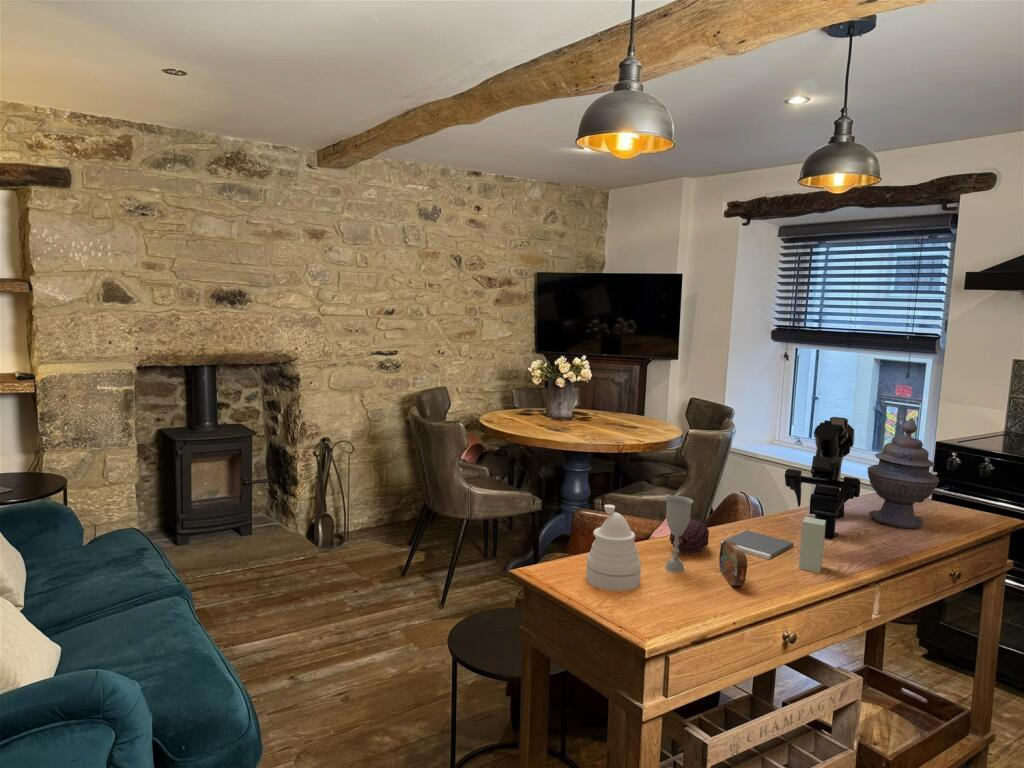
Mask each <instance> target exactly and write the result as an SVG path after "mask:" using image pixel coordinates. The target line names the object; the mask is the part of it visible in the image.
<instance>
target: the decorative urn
mask: <svg viewBox="0 0 1024 768" xmlns="http://www.w3.org/2000/svg"><path fill="white" fill-rule="evenodd" d="M901 429H902V431H904V435H897V436H894V437H892V438H891V442H888V443H885V445H883V447H882V451H881V452H878V453H875V454H874V457H875V458H876V459H878V460H879V461H878V464H873V465H870V466H868V467H867V475H868V476H867V477H868V479H869V484H870V486H871V487H872V489H873V490H874V492H875V493H876V494H877V496H878V497H879V498H880V499H883V500H884V501H883V504H882V506H881V508H880V509H878V510H871V511H868V515H869V516H870V517H871V518H872V519H874V520H875V521H876V522H878V523H880V524H884V525H889V526H892V527H895V528H899V529H916V528H919V527H921V526H922V525H923V524H924V522H925V521H924V519H923V518H921V517H920V516H916V515H915V511H914V510H915V509H914V504H916V503H918V504H919V503H923V502H924V501H925V499H928V498H929V497H930V496H932V495H933V494H934V491H935V489H936V488H937V486H938V485H939V483H940V479H939V477H938V476H937V475H935V474H933V473H931V472H930V469H931V467H935V465H936V464H935V463H934V462H933V461H932V460H930V459H929V454H930V453H929V452H928V450H927V449H926V448H924V447H923V446H924V444H923V441H922V440H920V439H918V438H914V437H912V434H914V433H916V432H917V430H918V425H917V424H916V422H915V420H914V418H913V417H911V418H909V419H907V420H906V421H905V422H904V423H902V425H901Z"/></svg>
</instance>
